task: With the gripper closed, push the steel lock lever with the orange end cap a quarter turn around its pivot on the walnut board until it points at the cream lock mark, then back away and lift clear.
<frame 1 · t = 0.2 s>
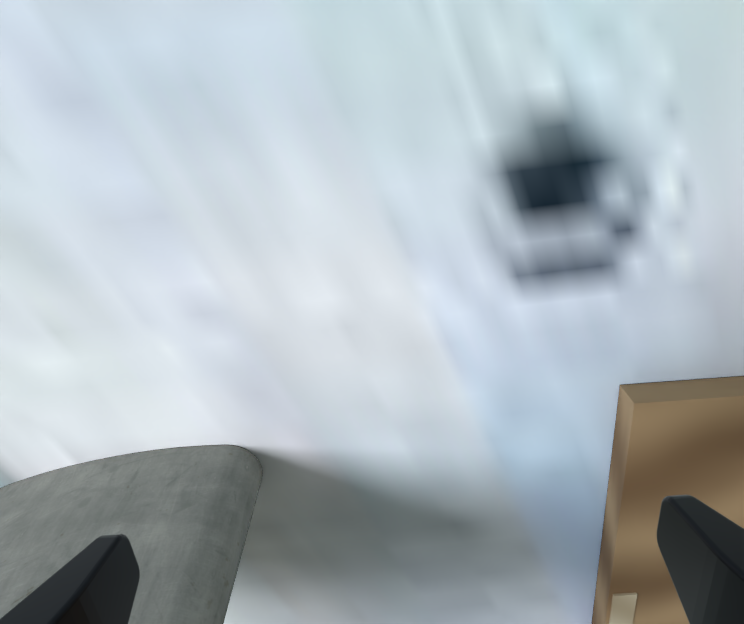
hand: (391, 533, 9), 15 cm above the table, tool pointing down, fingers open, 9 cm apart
hip flask: (109, 486, 28), on the table
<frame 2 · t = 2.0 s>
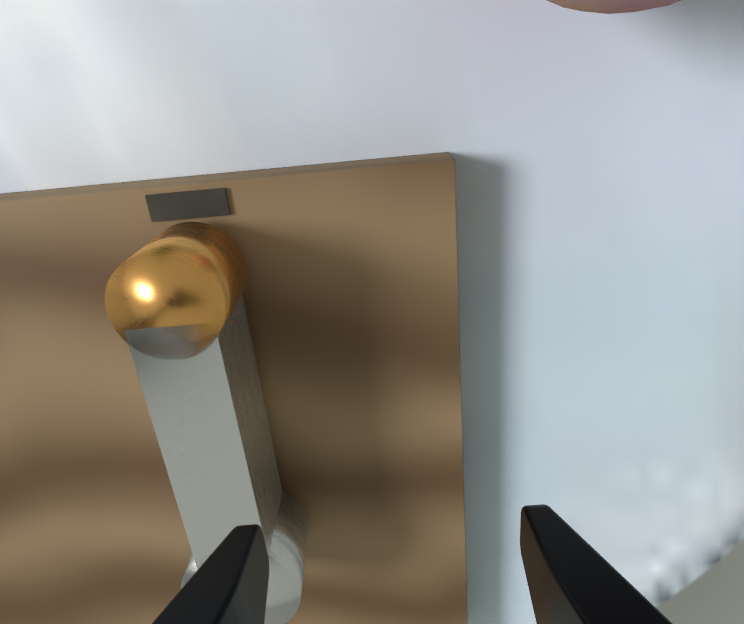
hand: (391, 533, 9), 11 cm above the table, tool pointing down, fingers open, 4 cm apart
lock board: (185, 456, 22), on the table
lock lever: (221, 445, 18), point 4 cm above the table, hinge at 0.0°
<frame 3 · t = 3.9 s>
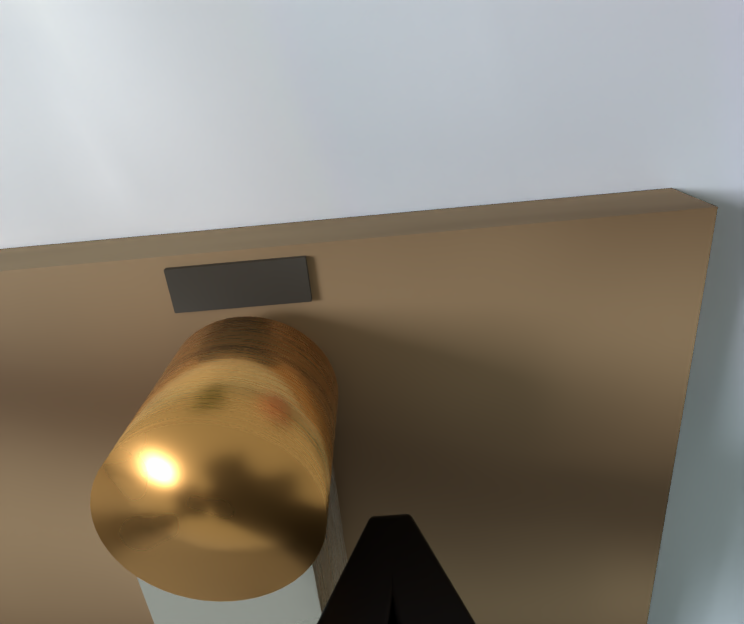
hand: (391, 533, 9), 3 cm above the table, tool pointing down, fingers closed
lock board: (215, 622, 15), on the table
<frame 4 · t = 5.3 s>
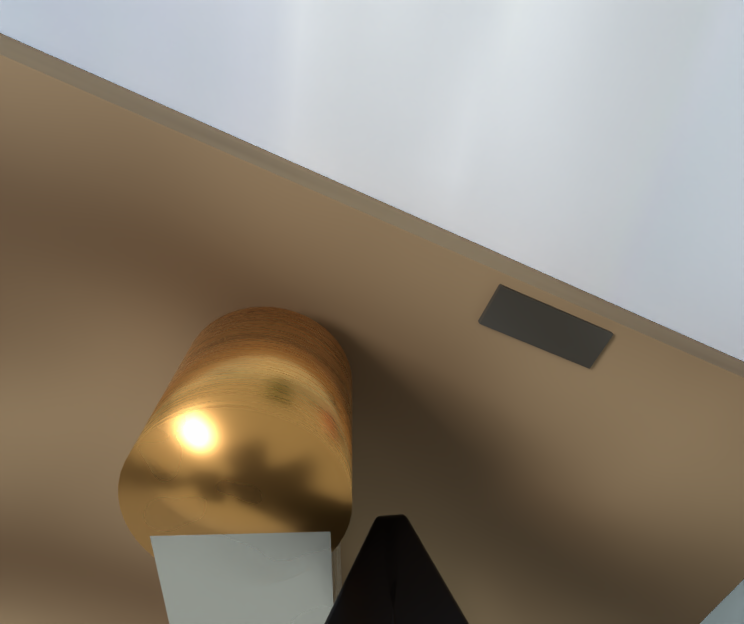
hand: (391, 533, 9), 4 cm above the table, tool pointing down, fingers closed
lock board: (228, 582, 15), on the table
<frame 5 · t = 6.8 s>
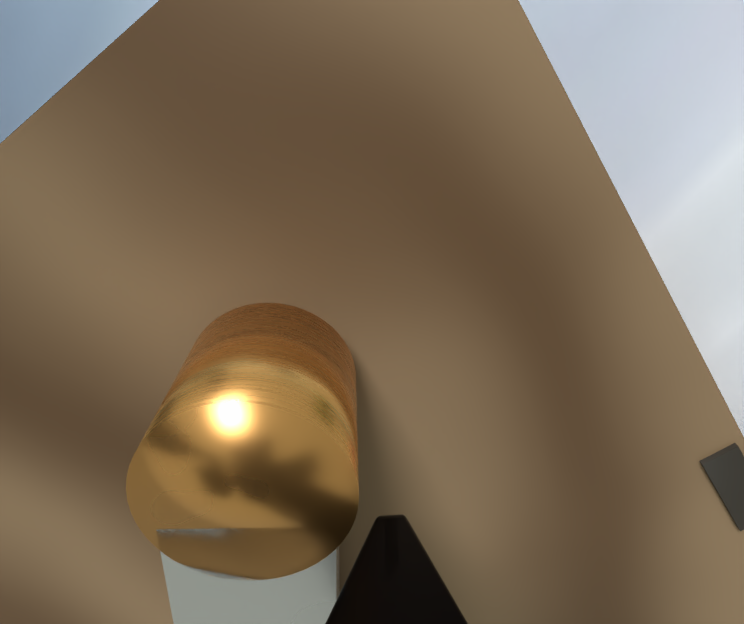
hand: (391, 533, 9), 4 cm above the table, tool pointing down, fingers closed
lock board: (287, 562, 15), on the table
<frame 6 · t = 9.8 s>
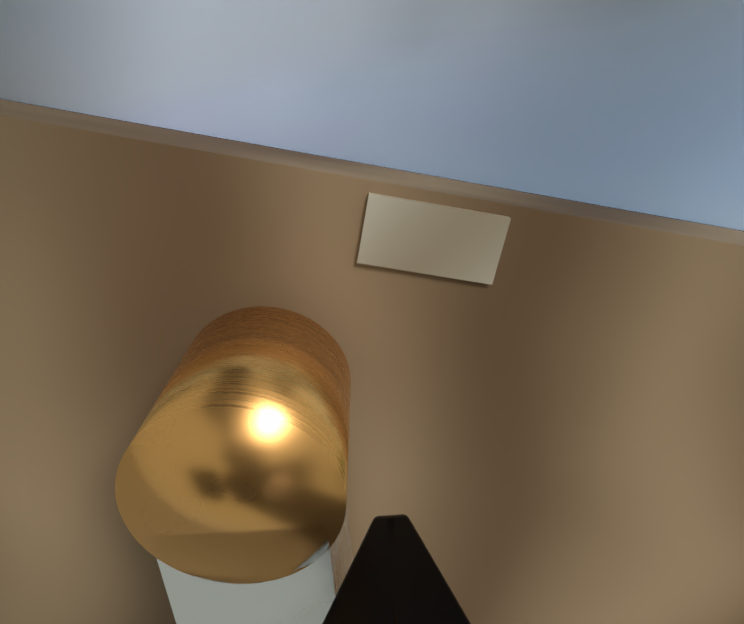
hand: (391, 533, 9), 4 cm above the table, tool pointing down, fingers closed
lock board: (415, 588, 15), on the table
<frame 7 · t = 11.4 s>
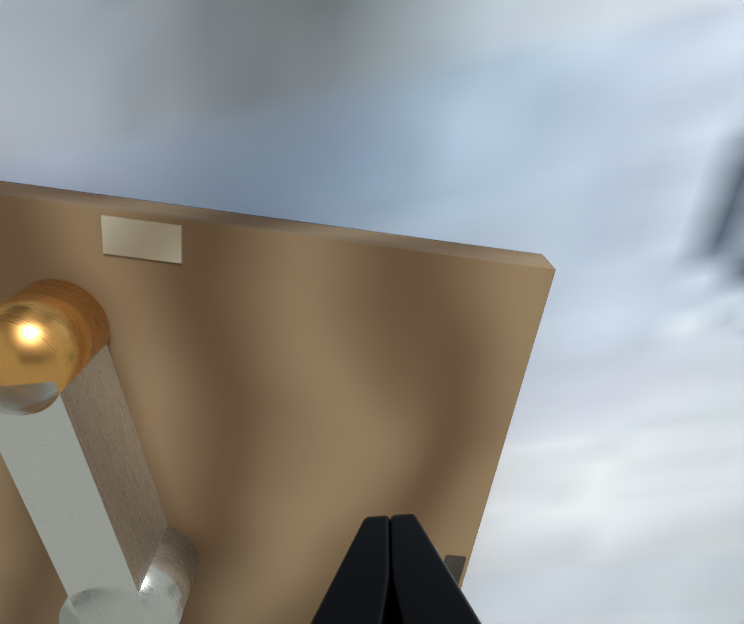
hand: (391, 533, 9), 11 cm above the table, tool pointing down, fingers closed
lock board: (213, 470, 23), on the table
lock lever: (93, 487, 19), point 4 cm above the table, hinge at 103.7°
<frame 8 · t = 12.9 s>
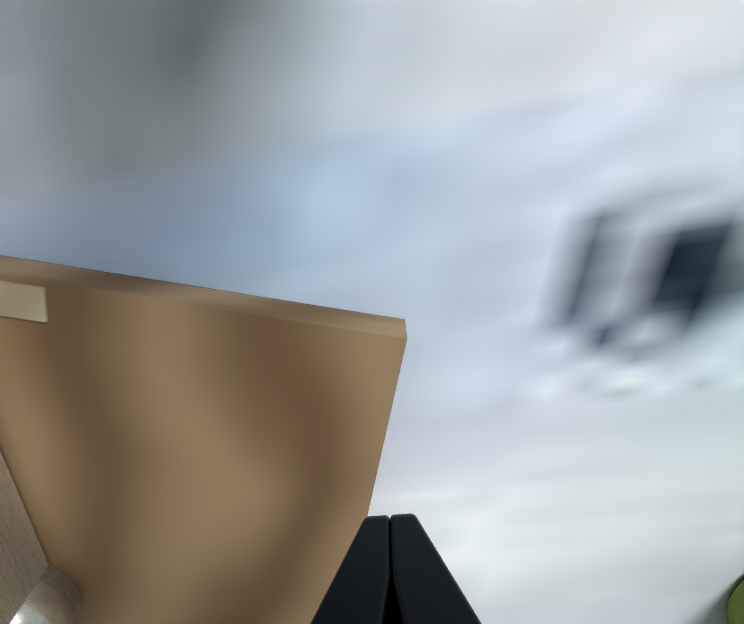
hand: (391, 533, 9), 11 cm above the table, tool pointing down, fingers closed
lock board: (101, 509, 23), on the table
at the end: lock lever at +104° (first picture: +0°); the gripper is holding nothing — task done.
